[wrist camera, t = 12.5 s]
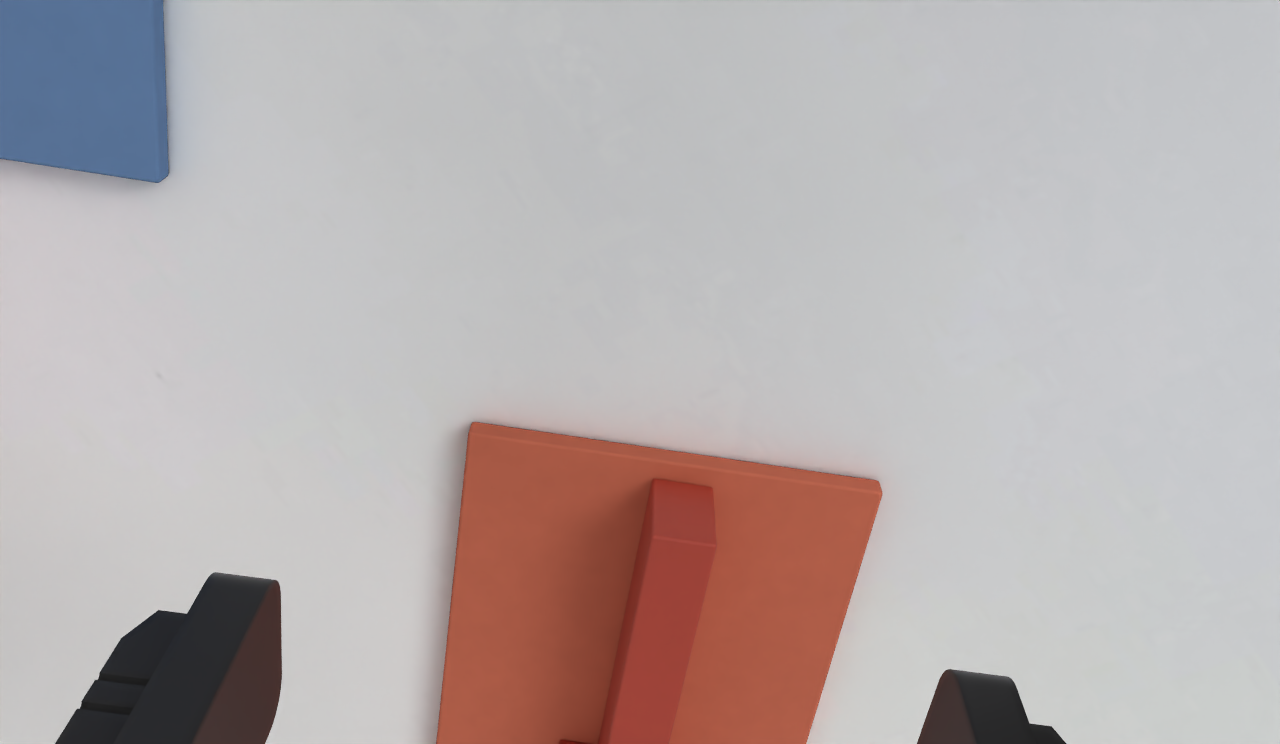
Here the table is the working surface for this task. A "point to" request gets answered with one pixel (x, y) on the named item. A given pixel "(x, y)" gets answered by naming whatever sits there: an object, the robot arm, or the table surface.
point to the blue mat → (84, 86)
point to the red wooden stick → (660, 614)
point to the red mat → (600, 582)
